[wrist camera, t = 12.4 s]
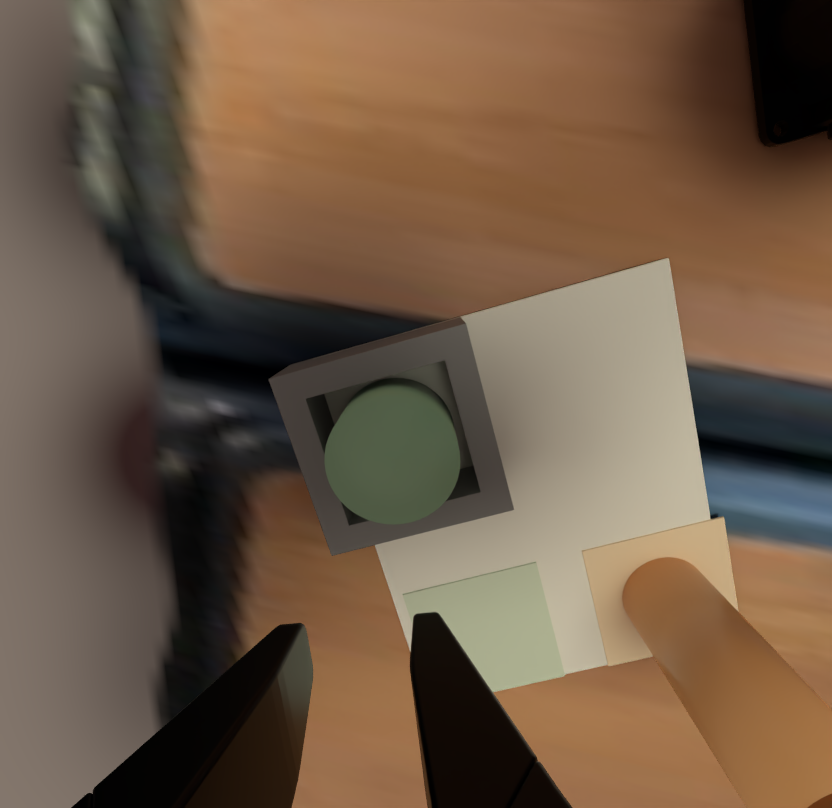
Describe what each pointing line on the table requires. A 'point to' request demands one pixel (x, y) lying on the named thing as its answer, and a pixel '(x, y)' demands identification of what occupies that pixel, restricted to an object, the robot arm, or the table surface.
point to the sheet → (533, 471)
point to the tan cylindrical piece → (734, 687)
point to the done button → (393, 452)
